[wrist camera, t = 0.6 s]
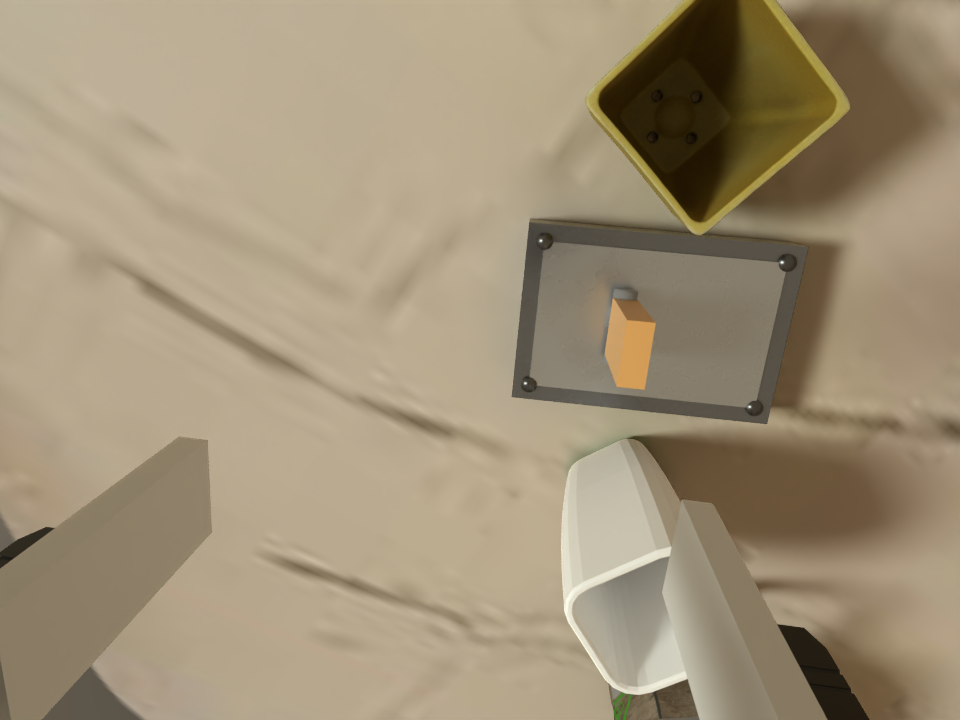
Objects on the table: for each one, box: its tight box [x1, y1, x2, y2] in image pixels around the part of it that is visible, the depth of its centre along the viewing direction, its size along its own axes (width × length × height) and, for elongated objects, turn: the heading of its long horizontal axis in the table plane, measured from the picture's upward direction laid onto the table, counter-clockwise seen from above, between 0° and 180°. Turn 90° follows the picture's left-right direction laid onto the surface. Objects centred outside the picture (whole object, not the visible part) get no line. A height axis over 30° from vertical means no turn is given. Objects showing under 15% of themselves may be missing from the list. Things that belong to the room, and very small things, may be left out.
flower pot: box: [586, 0, 851, 235], centre depth 32 cm, size 9×9×9 cm
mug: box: [608, 679, 700, 720], centre depth 42 cm, size 16×11×12 cm
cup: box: [561, 439, 687, 695], centre depth 37 cm, size 7×7×15 cm
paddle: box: [604, 288, 656, 390], centre depth 34 cm, size 4×1×7 cm, turn 175°
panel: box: [512, 219, 808, 424], centre depth 39 cm, size 11×16×3 cm
